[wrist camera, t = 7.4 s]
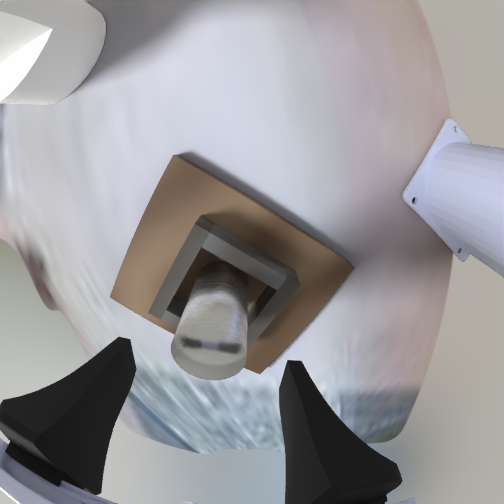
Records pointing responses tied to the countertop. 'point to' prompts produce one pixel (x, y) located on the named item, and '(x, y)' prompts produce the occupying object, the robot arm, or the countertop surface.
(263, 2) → the countertop surface
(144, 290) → the dock
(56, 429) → the robot arm
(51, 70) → the cylinder with rectangular tab
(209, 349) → the clear glass cylinder
